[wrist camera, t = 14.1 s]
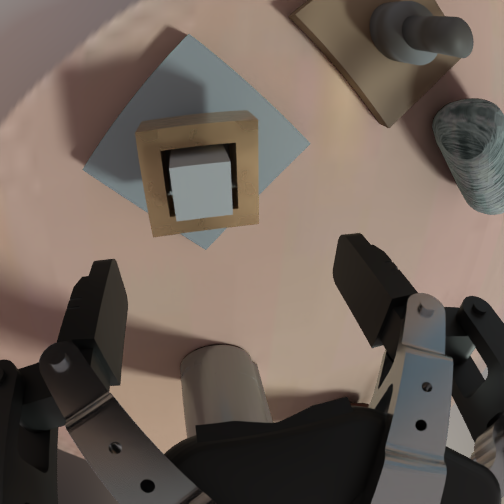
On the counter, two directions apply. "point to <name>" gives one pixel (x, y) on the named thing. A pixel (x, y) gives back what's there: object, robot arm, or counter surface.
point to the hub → (199, 157)
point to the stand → (386, 47)
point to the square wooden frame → (190, 135)
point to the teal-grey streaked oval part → (474, 151)
